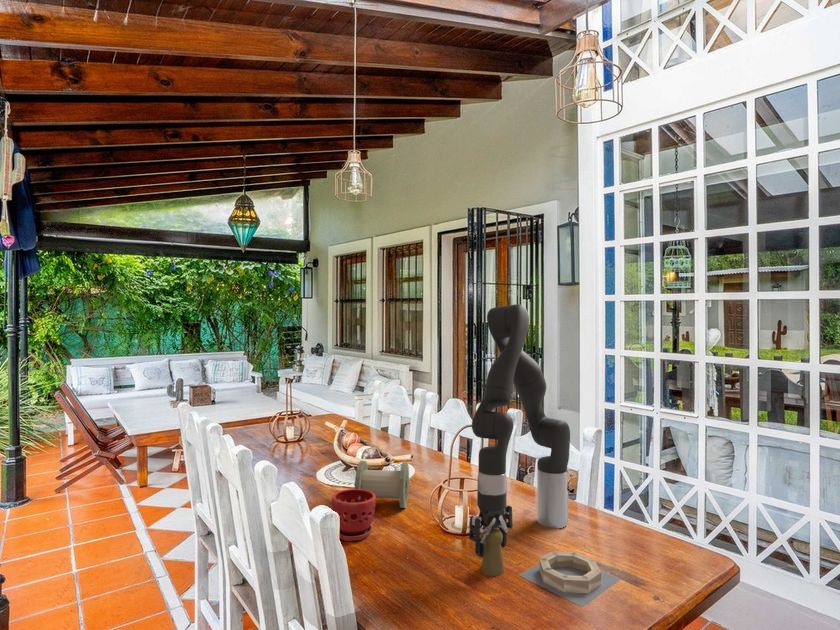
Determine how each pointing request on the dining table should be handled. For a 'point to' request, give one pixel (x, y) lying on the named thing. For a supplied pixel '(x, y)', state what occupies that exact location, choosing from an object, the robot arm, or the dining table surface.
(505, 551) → the dining table surface
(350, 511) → the plant pot
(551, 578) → the wooden ring
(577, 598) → the slate mat
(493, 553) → the olive pawn peg
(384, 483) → the spool
